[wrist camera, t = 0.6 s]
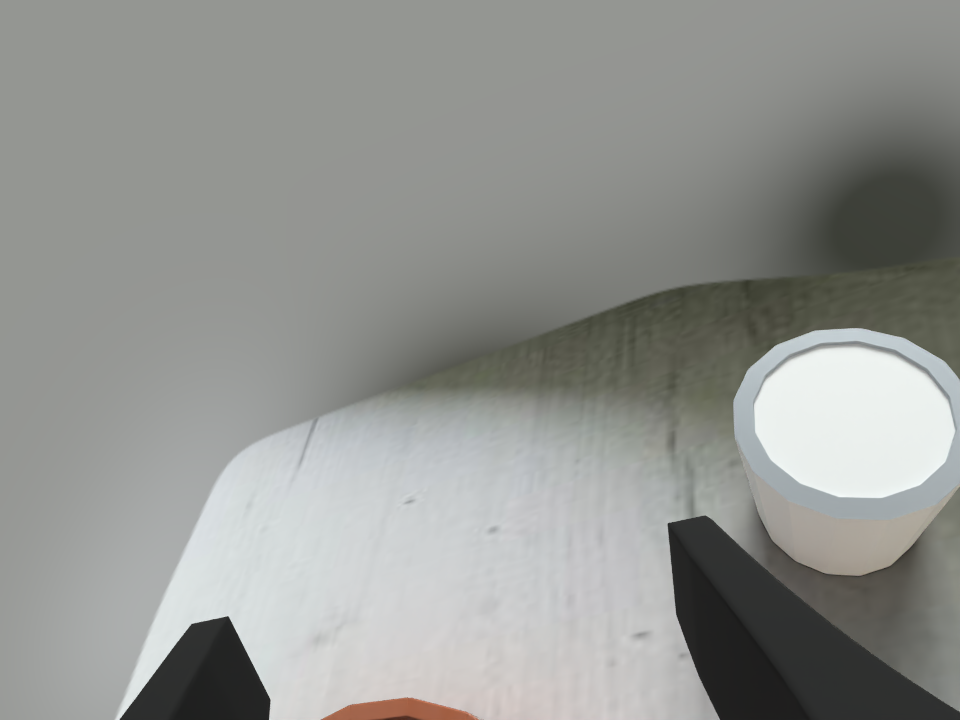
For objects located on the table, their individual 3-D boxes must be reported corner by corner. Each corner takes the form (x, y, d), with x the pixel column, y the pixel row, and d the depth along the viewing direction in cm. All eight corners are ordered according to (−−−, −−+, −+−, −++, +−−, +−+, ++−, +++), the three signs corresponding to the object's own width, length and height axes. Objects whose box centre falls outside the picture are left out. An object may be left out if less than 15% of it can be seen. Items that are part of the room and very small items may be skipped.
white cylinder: (726, 566, 27) (713, 492, 22) (755, 414, 30) (750, 316, 25) (935, 616, 24) (981, 544, 19) (943, 441, 27) (984, 335, 22)
